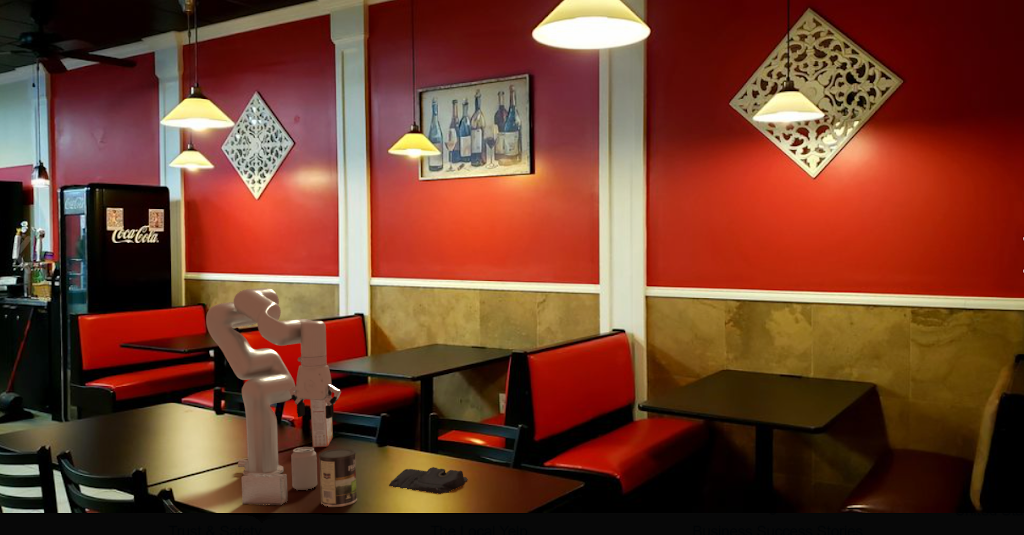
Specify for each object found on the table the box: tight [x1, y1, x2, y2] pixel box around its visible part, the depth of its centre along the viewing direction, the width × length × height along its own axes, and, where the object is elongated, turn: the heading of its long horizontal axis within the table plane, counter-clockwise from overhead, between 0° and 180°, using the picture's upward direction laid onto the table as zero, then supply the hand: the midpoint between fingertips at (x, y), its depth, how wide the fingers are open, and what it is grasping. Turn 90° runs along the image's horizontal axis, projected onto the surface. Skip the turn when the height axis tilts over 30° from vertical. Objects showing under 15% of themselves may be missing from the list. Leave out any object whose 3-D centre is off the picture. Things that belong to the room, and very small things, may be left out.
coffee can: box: [318, 448, 358, 508], centre depth 229 cm, size 10×10×14 cm
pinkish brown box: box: [241, 473, 289, 506], centre depth 230 cm, size 12×4×8 cm, turn 78°
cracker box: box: [309, 399, 334, 448], centre depth 299 cm, size 14×6×21 cm, turn 5°
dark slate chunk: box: [388, 466, 469, 495], centre depth 244 cm, size 15×22×5 cm
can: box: [290, 446, 318, 491], centre depth 243 cm, size 8×8×12 cm
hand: (315, 417), depth 244 cm, fingers open, 9 cm apart
